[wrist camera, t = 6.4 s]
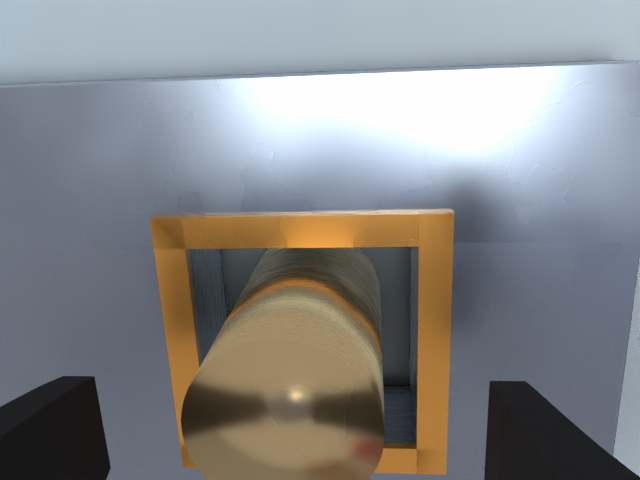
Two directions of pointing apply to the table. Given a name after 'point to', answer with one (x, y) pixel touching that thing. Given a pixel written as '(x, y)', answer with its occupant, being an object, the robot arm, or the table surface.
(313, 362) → the brass peg
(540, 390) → the plate
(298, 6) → the table surface
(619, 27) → the table surface
